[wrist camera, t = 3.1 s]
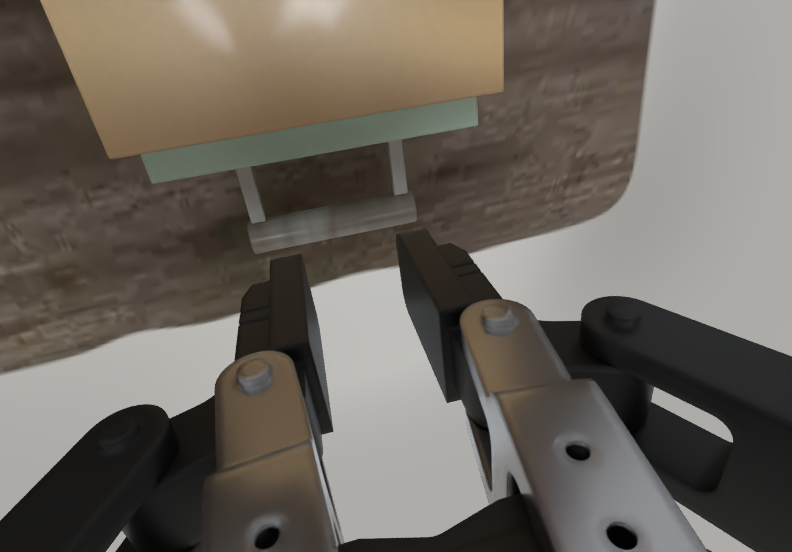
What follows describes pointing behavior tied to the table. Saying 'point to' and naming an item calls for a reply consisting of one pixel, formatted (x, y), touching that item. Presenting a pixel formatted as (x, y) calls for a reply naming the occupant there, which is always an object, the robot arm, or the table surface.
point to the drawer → (308, 143)
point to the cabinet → (268, 63)
